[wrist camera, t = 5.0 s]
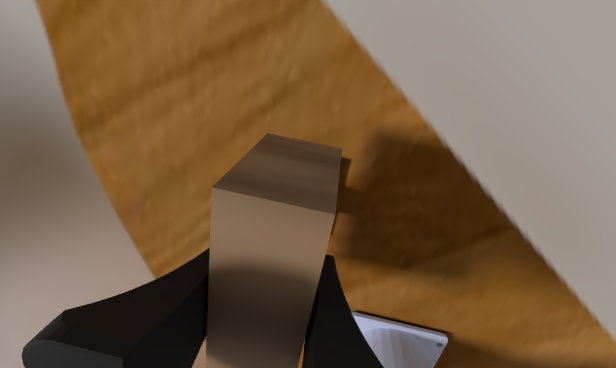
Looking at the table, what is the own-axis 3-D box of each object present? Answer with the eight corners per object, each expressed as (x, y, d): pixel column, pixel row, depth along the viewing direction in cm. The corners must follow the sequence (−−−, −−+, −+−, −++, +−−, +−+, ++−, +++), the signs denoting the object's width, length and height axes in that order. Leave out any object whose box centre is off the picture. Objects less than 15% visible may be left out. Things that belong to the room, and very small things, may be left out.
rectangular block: (305, 304, 18) (284, 416, 12) (249, 291, 18) (204, 396, 12) (341, 148, 13) (335, 214, 8) (267, 133, 14) (211, 187, 8)
